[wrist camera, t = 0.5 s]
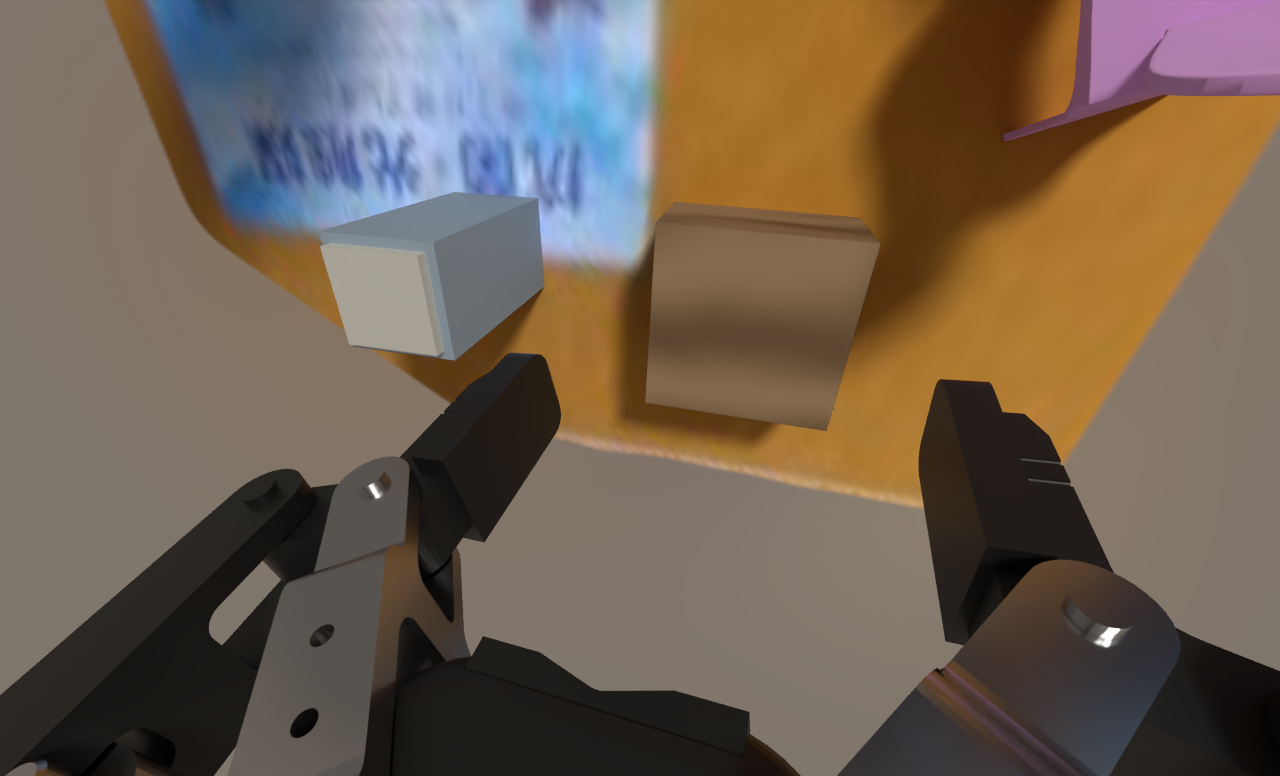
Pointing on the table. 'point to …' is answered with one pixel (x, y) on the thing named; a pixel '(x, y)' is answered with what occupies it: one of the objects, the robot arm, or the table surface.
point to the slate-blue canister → (434, 272)
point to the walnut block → (755, 310)
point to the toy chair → (1169, 53)
